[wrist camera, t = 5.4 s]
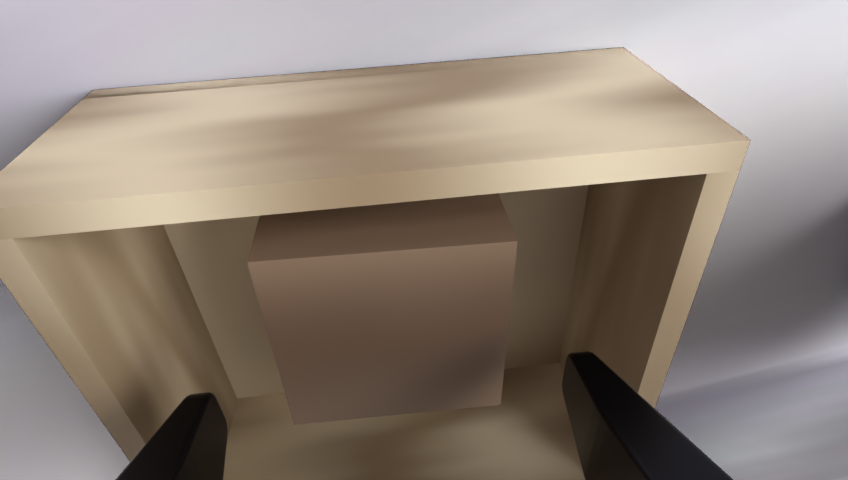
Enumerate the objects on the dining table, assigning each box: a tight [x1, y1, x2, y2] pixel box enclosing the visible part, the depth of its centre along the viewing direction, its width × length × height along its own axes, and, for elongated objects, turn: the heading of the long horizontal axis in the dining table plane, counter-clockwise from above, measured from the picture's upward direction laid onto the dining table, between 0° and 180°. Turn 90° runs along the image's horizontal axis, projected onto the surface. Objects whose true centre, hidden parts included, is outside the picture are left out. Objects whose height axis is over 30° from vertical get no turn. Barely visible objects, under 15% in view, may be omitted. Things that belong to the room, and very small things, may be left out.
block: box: [247, 193, 518, 425], centre depth 11 cm, size 4×4×4 cm
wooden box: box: [0, 47, 750, 480], centre depth 12 cm, size 11×10×4 cm
